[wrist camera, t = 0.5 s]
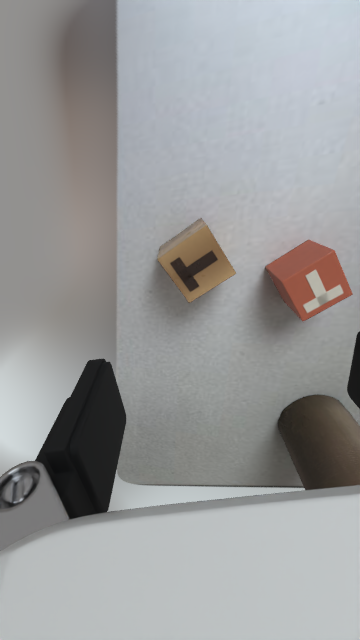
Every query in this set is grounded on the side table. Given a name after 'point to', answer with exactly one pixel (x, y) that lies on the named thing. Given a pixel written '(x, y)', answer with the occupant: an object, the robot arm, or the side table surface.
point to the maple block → (195, 261)
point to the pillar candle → (322, 442)
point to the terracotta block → (309, 279)
